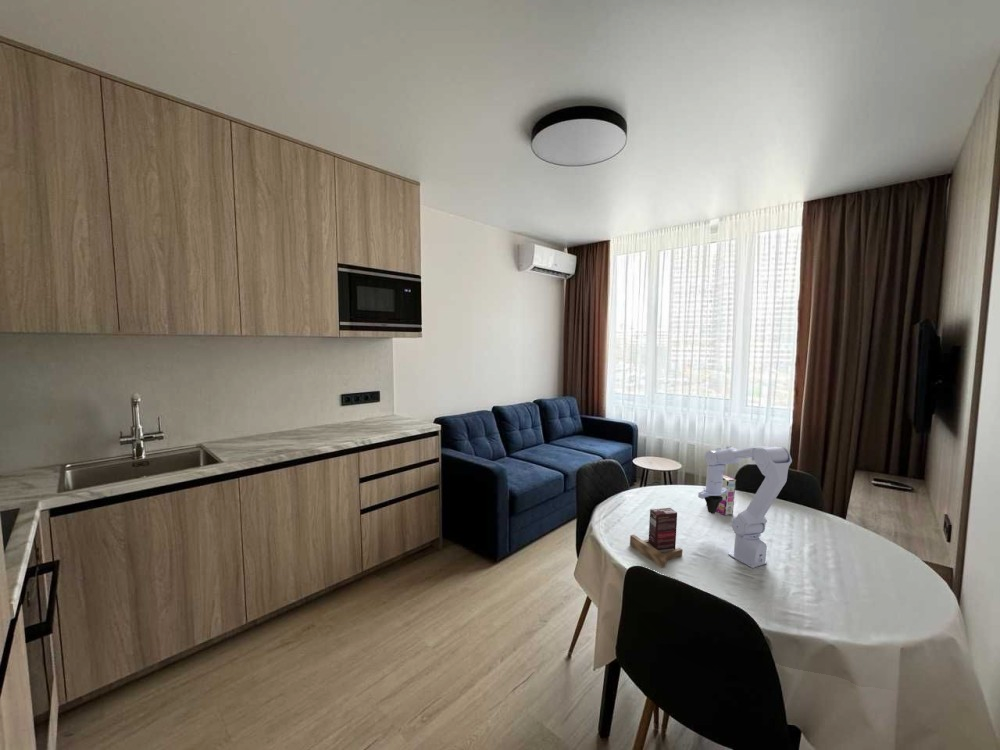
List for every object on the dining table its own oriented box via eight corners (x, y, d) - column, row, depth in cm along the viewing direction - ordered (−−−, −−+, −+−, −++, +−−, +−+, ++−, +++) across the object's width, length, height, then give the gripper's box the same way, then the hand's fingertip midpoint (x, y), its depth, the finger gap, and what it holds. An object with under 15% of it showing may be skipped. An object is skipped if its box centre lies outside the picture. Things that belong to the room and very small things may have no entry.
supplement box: (667, 547, 155) (670, 507, 154) (675, 554, 151) (678, 512, 149) (646, 549, 154) (649, 508, 152) (654, 556, 149) (657, 514, 147)
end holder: (688, 559, 147) (689, 549, 147) (662, 567, 142) (662, 556, 141) (654, 538, 161) (655, 529, 161) (629, 545, 156) (630, 535, 156)
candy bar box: (733, 514, 185) (736, 479, 183) (724, 516, 183) (728, 480, 182) (714, 504, 196) (716, 471, 194) (705, 505, 194) (708, 472, 192)
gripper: (717, 474, 170) (715, 505, 171) (692, 479, 164) (690, 511, 165) (733, 480, 163) (730, 512, 165) (708, 485, 157) (705, 519, 159)
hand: (711, 512), depth 165 cm, fingers closed
